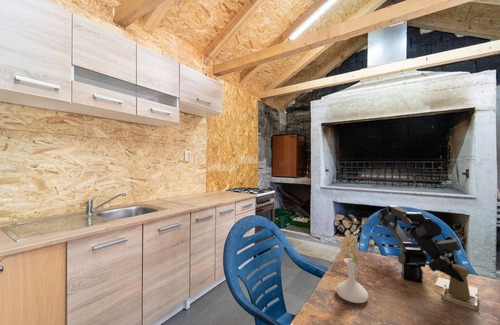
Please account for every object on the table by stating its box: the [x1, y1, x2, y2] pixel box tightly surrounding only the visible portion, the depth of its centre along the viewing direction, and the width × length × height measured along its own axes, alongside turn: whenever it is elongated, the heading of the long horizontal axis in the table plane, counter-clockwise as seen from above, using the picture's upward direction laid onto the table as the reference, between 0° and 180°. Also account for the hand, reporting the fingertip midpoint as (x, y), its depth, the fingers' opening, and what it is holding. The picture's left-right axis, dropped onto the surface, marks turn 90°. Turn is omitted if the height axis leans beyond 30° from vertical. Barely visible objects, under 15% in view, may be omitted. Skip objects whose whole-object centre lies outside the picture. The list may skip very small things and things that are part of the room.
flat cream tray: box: [440, 285, 479, 311], centre depth 79 cm, size 9×9×2 cm
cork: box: [447, 264, 472, 301], centre depth 79 cm, size 6×6×11 cm
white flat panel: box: [434, 276, 479, 299], centre depth 87 cm, size 9×12×1 cm
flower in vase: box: [335, 233, 369, 304], centre depth 81 cm, size 13×11×25 cm
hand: (464, 279), depth 78 cm, fingers closed on cork, 5 cm apart
